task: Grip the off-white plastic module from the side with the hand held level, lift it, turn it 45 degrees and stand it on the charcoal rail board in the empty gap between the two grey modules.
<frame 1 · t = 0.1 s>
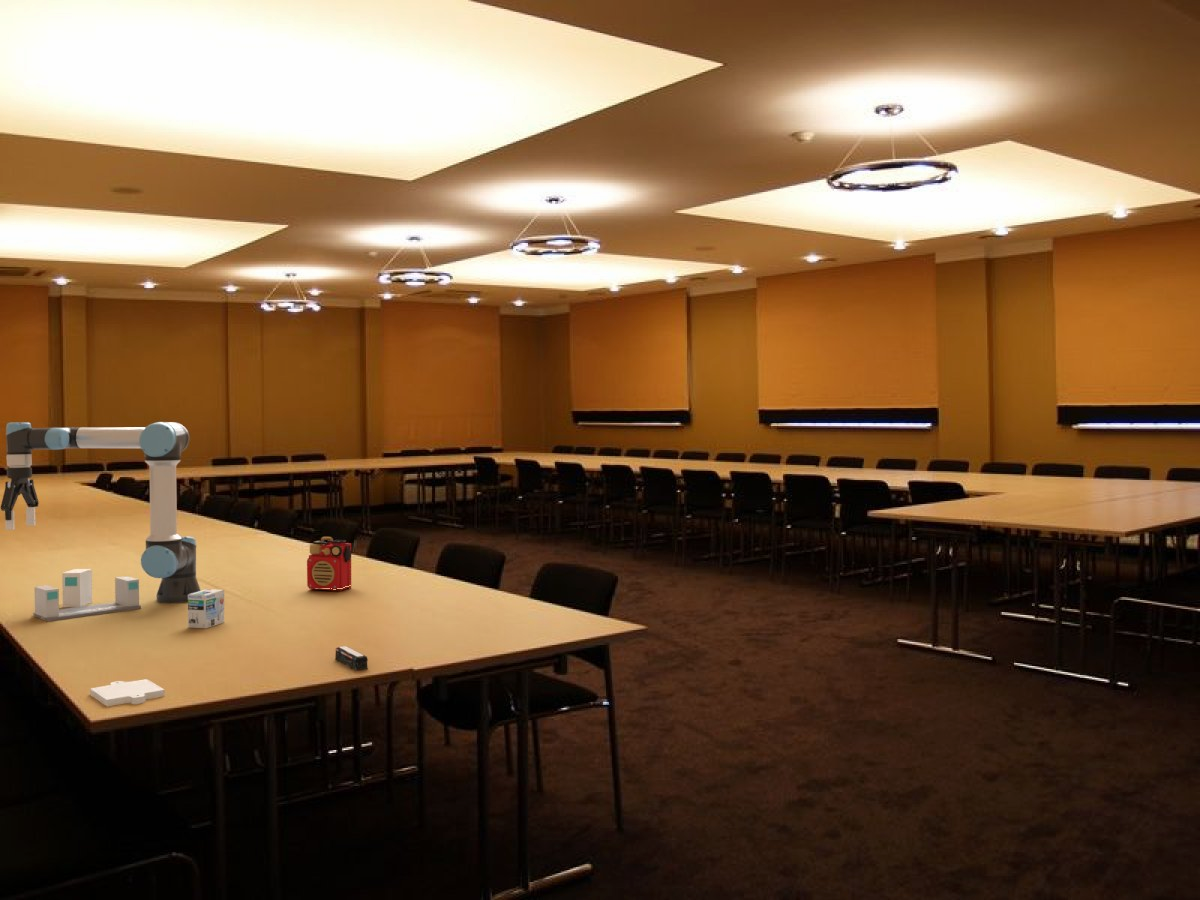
hand: (20, 527, 347), 28 cm above the table, tool pointing down, fingers open, 13 cm apart
radio: (329, 589, 386), on the table
mounting plate: (127, 697, 240), on the table
light bulb box: (206, 625, 320), on the table
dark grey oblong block: (351, 665, 273), on the table
module 2: (127, 591, 349), on the rail board, point 6 cm above the table
rail board: (88, 612, 339), on the table
module 1: (46, 601, 330), on the rail board, point 6 cm above the table
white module: (77, 604, 353), on the table
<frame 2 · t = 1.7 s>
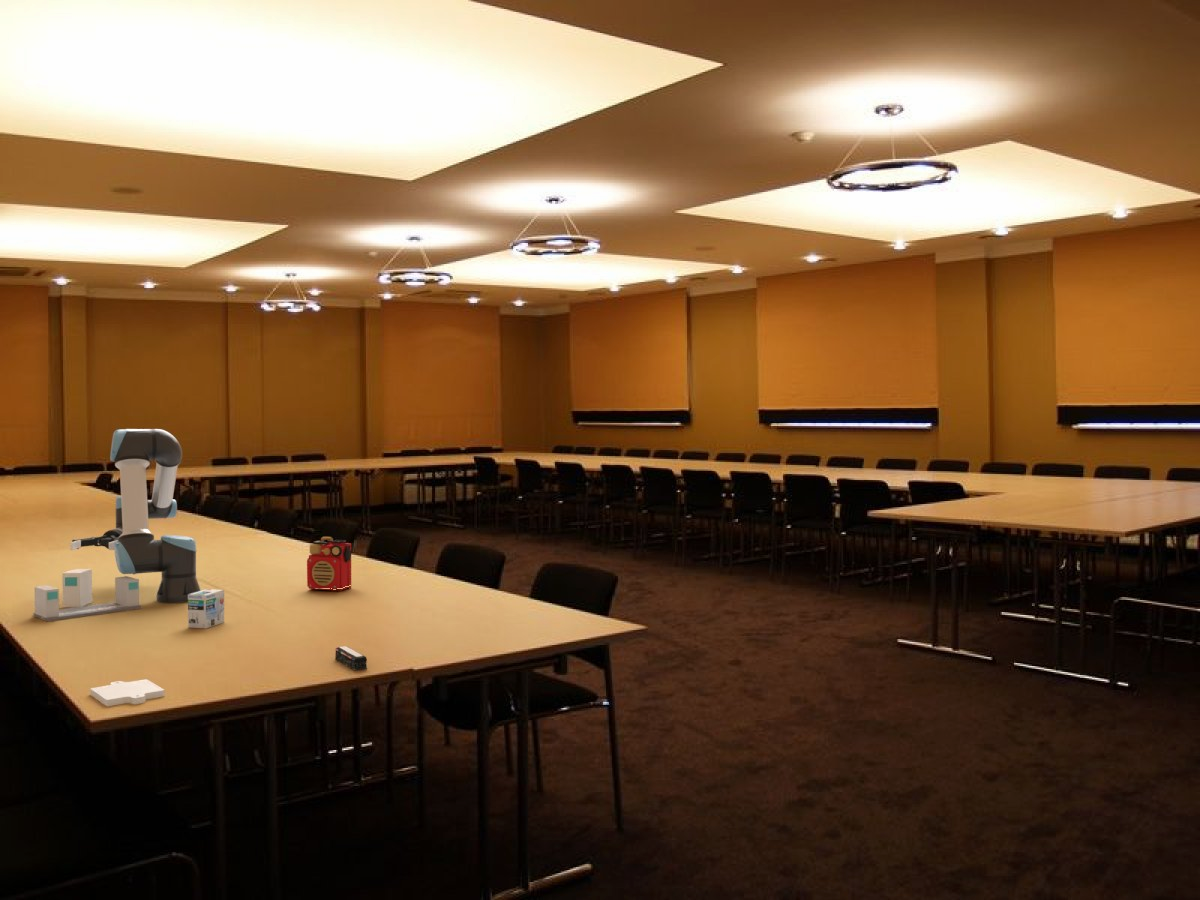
hand: (90, 546, 363), 19 cm above the table, tool horizontal, fingers open, 13 cm apart
nothing on the table moved.
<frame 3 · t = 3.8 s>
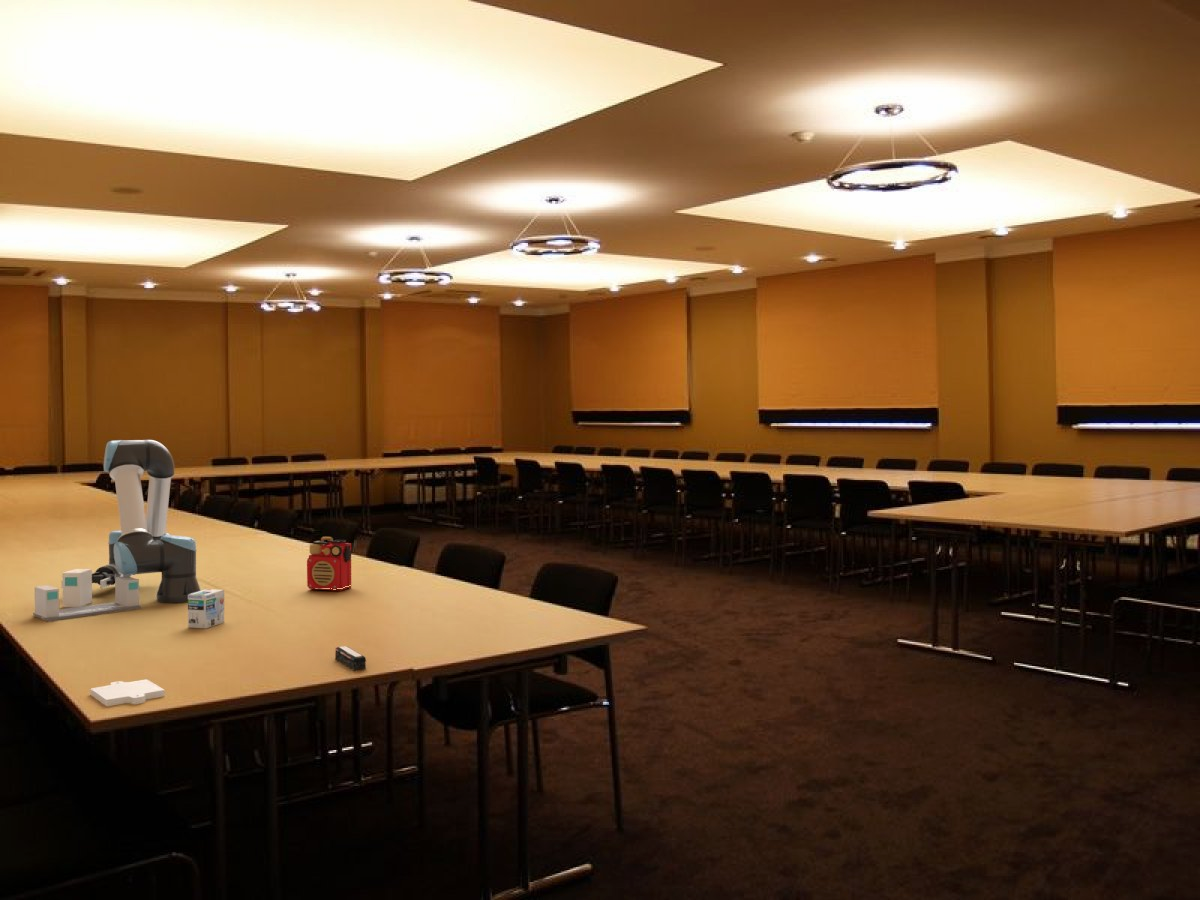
hand: (81, 584, 357), 6 cm above the table, tool horizontal, fingers open, 13 cm apart
nothing on the table moved.
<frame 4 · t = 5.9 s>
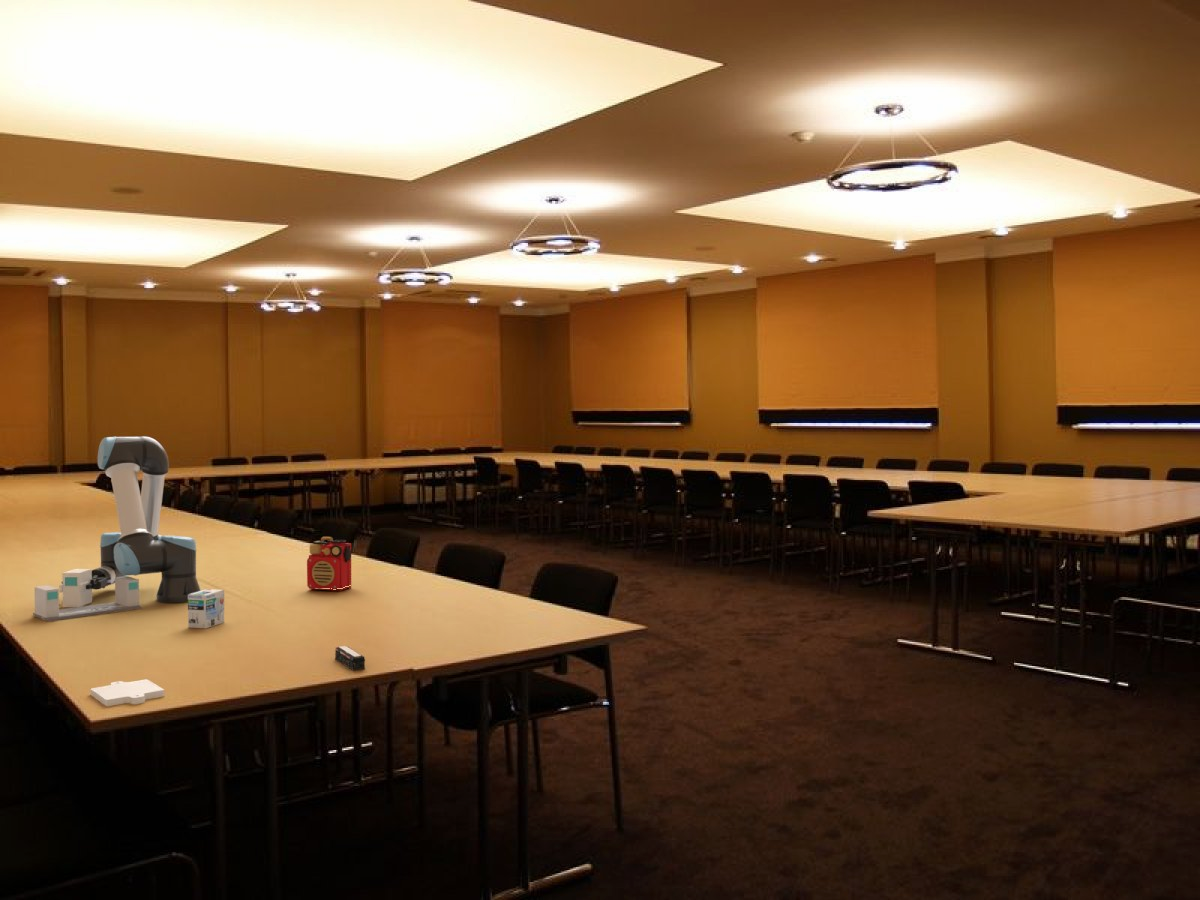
hand: (70, 588, 348), 7 cm above the table, tool horizontal, fingers closed on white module, 6 cm apart
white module: (77, 604, 353), on the table, touching gripper
everything else where it was.
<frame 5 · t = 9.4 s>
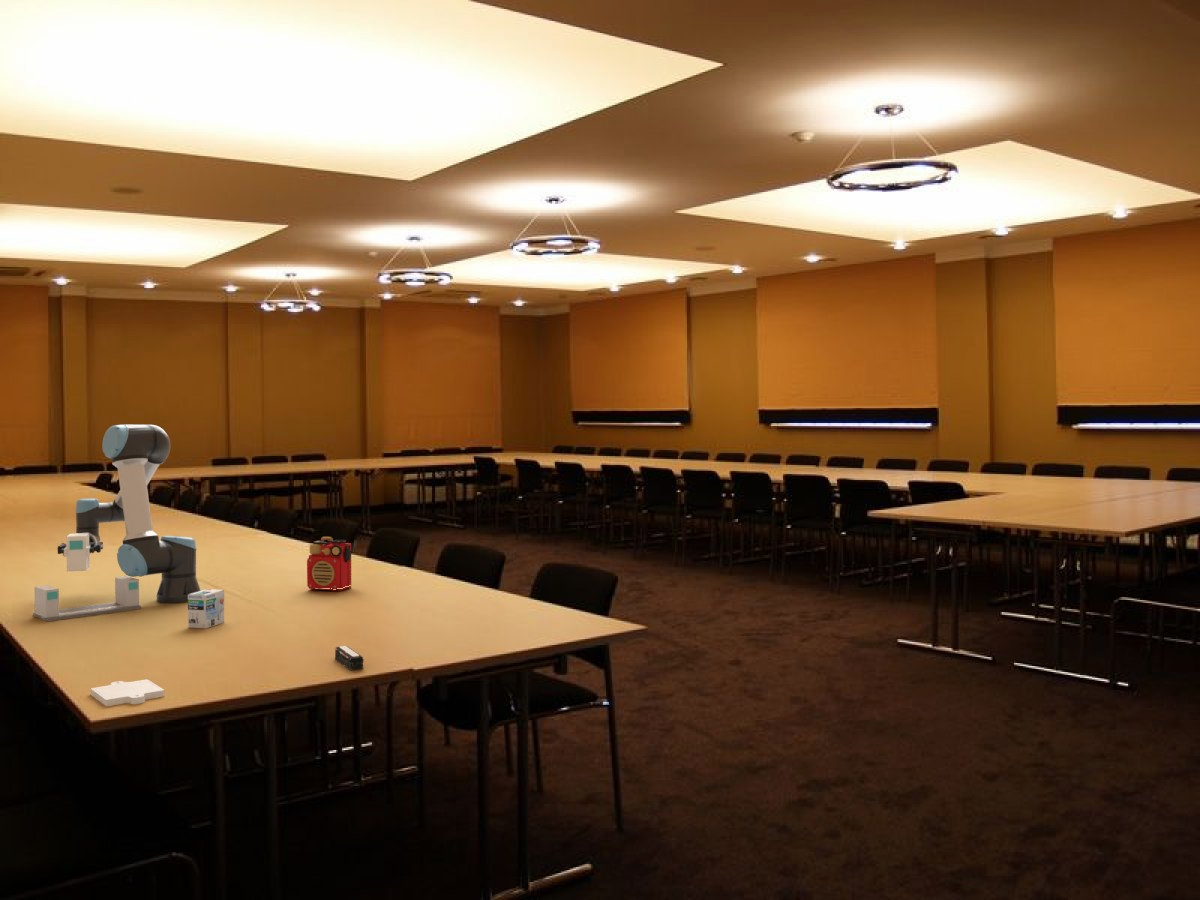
hand: (76, 552, 342), 20 cm above the table, tool horizontal, fingers closed on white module, 6 cm apart
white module: (78, 569, 347), point 14 cm above the table, touching gripper
everything else where it was.
when the fingers open (8 cm above the table, at t = 13.1 s): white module stays where it is, resting on rail board.
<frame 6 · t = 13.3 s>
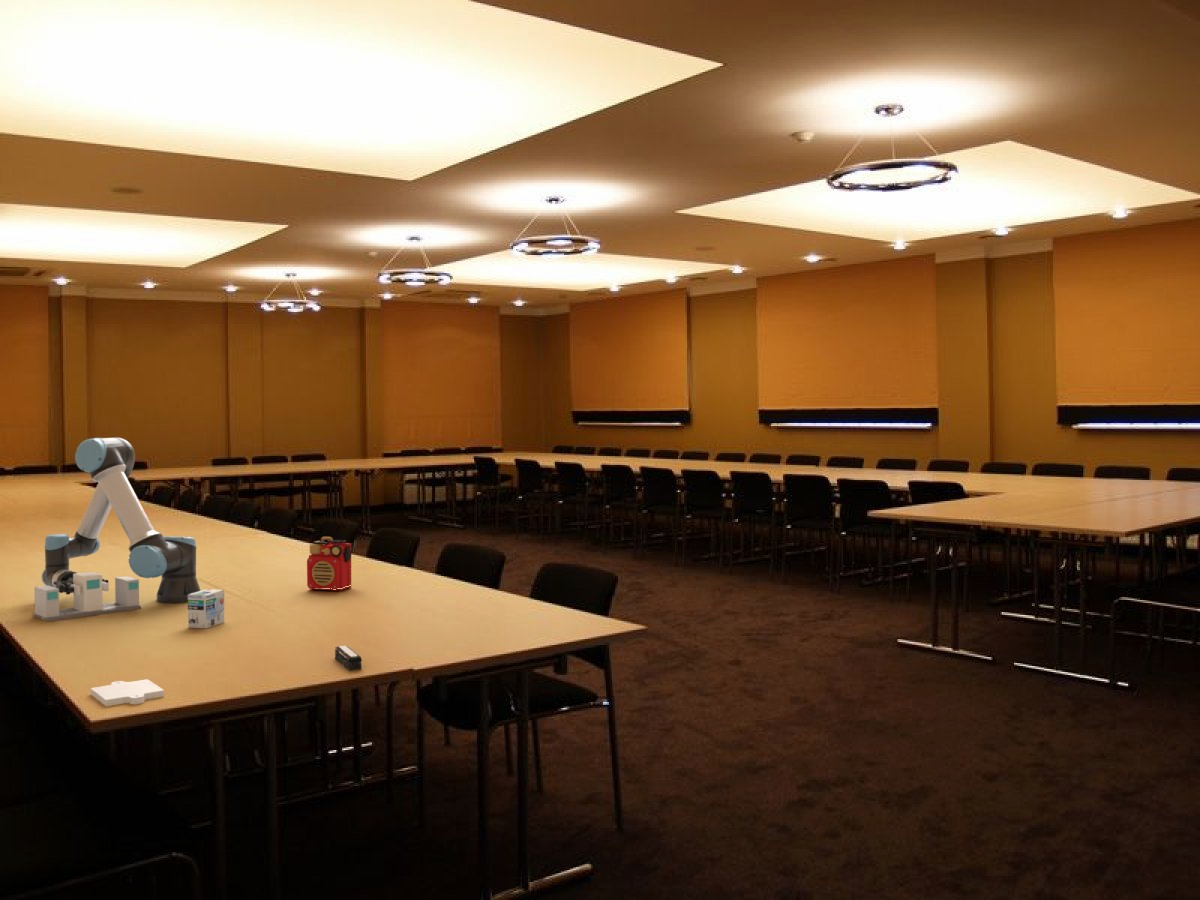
hand: (93, 589, 336), 8 cm above the table, tool horizontal, fingers open, 8 cm apart
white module: (88, 609, 339), point 1 cm above the table, touching rail board
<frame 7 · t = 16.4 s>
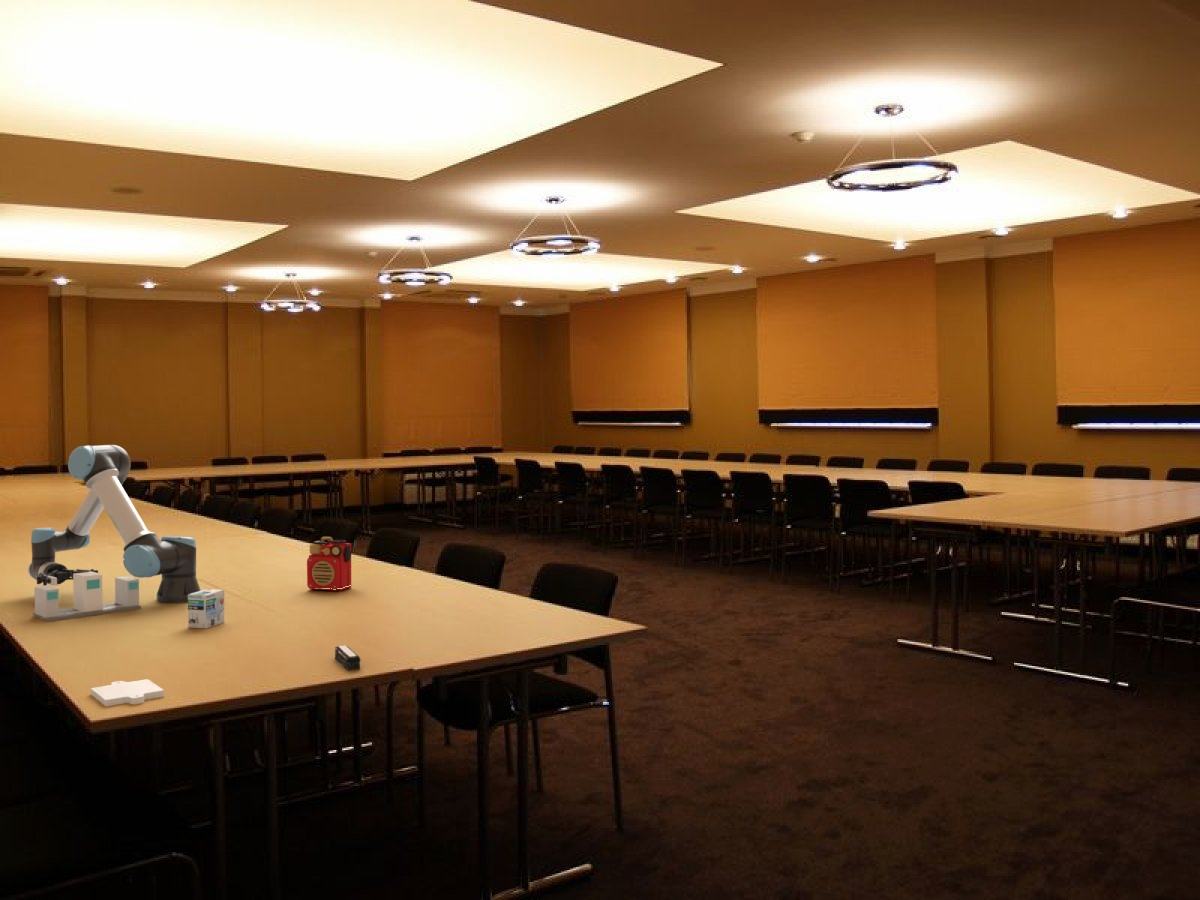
hand: (76, 579, 346), 10 cm above the table, tool horizontal, fingers open, 13 cm apart
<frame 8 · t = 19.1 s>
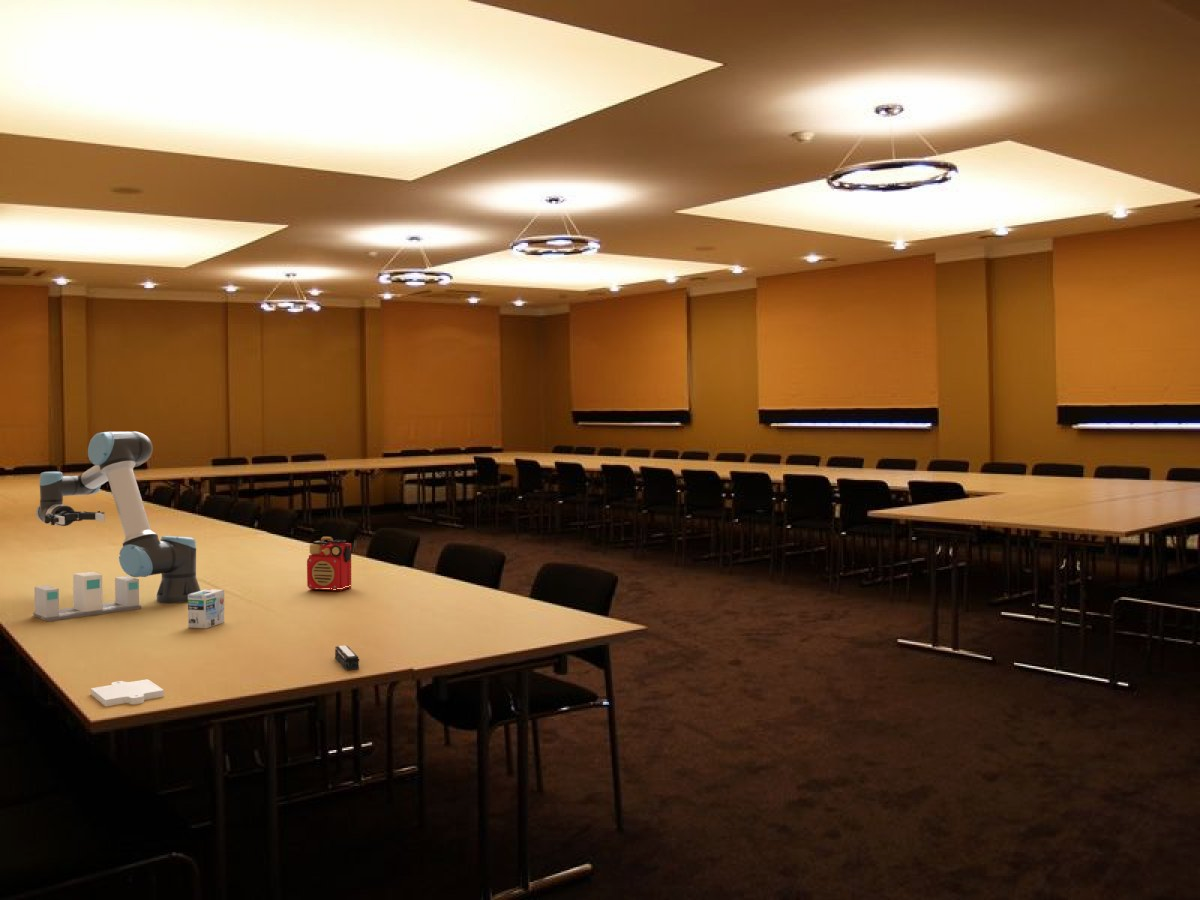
hand: (83, 519, 355), 30 cm above the table, tool horizontal, fingers open, 13 cm apart
at the end: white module 0.0 cm off-centre on the rail board, point 1.0 cm above the rail board's base; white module tilted 1°; the gripper is holding nothing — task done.
